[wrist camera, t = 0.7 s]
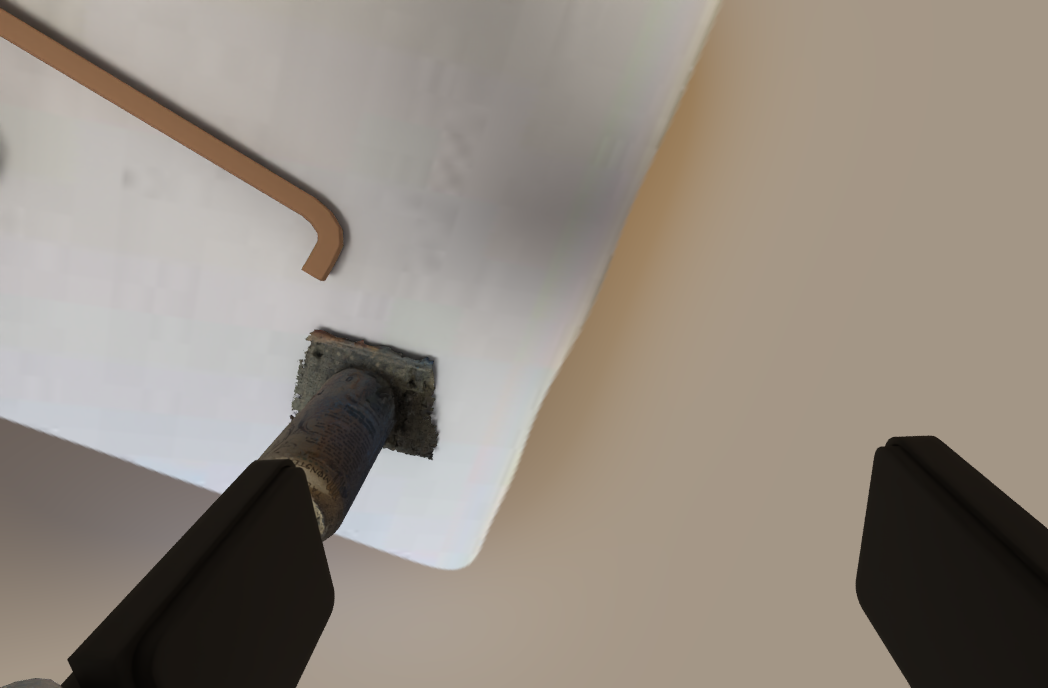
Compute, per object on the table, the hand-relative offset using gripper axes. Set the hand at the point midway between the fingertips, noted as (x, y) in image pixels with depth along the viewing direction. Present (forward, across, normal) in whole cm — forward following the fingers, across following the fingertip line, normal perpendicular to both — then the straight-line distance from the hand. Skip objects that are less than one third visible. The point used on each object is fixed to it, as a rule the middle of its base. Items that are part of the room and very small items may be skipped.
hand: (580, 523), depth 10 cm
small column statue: (+23, +12, +7) cm, 27 cm away
